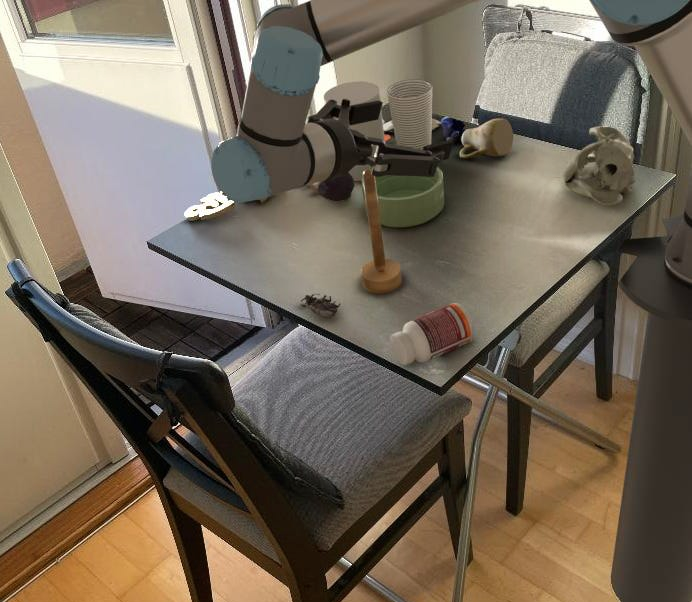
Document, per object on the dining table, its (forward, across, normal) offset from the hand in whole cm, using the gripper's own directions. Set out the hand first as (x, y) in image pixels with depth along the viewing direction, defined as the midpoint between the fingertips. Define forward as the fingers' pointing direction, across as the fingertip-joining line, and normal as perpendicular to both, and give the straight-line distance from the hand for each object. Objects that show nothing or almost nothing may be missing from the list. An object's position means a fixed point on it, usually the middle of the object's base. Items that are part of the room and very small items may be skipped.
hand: (413, 129), depth 119 cm
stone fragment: (+43, -26, -16) cm, 53 cm away
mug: (+42, -8, -15) cm, 45 cm away
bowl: (+18, -8, -22) cm, 30 cm away
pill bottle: (-7, +22, -19) cm, 29 cm away
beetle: (-9, 0, -27) cm, 28 cm away
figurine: (+15, -24, -27) cm, 39 cm away
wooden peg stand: (-1, +3, -25) cm, 25 cm away
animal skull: (+40, +18, -10) cm, 45 cm away
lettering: (+7, -37, -31) cm, 49 cm away
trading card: (+39, -32, -21) cm, 55 cm away
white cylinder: (+27, -25, -24) cm, 44 cm away
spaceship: (+44, -15, -12) cm, 48 cm away
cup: (+32, -17, -20) cm, 42 cm away
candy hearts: (+37, -31, -21) cm, 52 cm away
